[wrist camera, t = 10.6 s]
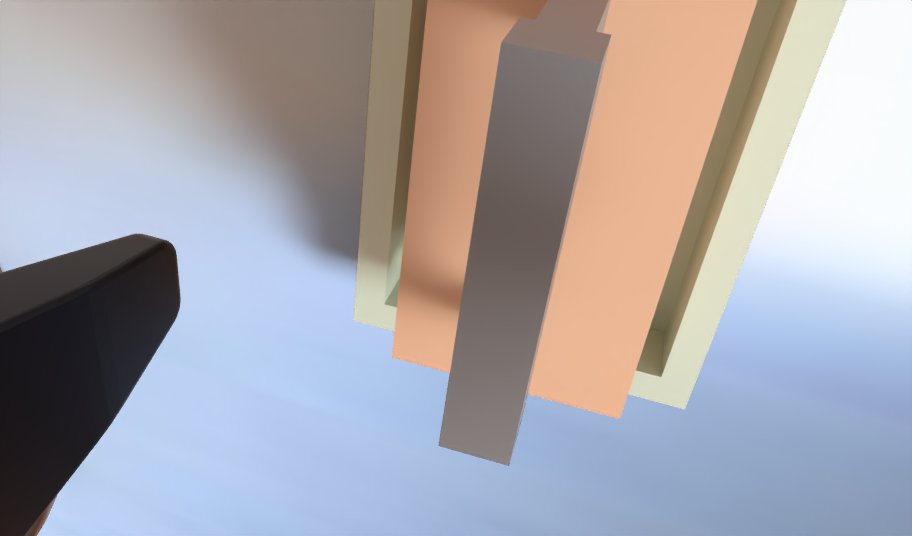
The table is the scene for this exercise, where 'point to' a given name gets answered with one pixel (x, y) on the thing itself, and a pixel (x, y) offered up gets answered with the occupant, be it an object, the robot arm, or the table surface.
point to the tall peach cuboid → (552, 195)
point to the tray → (712, 207)
